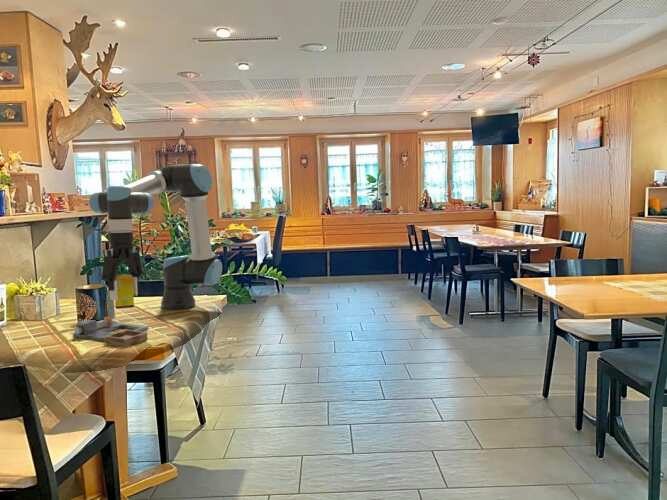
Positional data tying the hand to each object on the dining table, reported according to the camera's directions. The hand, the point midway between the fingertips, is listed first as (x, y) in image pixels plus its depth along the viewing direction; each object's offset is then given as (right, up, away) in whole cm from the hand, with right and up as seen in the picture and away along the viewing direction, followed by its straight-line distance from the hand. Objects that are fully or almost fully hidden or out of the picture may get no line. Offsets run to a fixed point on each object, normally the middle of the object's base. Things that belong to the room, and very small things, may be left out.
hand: (124, 297), depth 172 cm
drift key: (-17, -13, +13) cm, 25 cm away
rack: (0, -16, +2) cm, 16 cm away
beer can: (-25, -12, +37) cm, 46 cm away
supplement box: (0, -3, 0) cm, 3 cm away
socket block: (-10, -15, +13) cm, 22 cm away
